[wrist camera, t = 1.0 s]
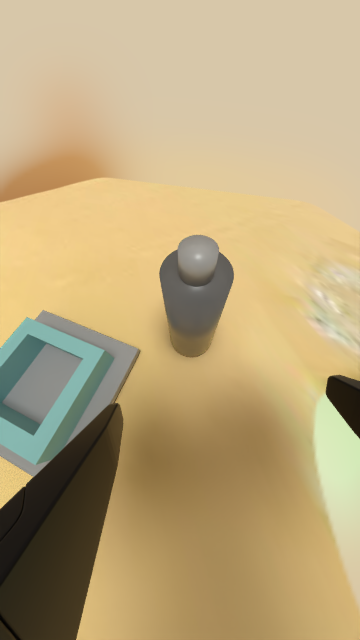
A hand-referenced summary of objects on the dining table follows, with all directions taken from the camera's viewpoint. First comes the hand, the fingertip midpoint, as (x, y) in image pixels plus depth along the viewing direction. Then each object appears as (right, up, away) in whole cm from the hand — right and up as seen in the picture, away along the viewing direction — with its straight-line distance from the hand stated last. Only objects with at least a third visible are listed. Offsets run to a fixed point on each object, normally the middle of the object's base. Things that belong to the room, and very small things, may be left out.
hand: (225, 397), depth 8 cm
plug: (-1, +1, +15) cm, 16 cm away
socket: (-16, -4, +13) cm, 21 cm away
